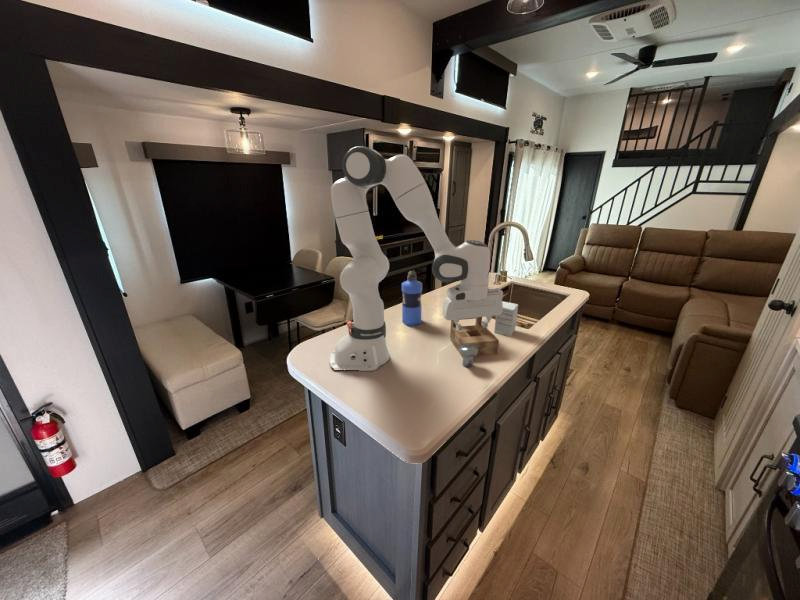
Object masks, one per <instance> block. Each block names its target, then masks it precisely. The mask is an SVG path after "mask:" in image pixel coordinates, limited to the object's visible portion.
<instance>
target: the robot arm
mask: <svg viewBox="0 0 800 600" xmlns="http://www.w3.org/2000/svg"><path fill="white" fill-rule="evenodd" d="M342 172H343V173H344V177H343V178H340V179H338V180H335V182H334V183H333V184H332V185H331V188H330V194H331V195H330V196H331V204H332V210H333V215H334V219H335V222H336V225H337V230H338V234H339V237H340V241H341V243H342V244H343V245H345V246H346V248H348V250H349V251H348V252H350V254H351V256H352V259H353V260H352V261H350V262H349V263H347V265H345V267H344V268H343V270H342V271H341V273H340V275H339V283H340V286H341V288H342V289H343V290H344V291H345V292H346V293H347V294H348V297H349V299H350V302H351V307H352V317H353V319H352V320H353V321H351V320H349V321H347V323H346V325H347V326H346V327H347V329H348V330H347V331H348V332H347V333H346V334H345V335H344V336H342V338H339V340H337V342H336V345H335V347H334V350H333V351H331V353H330V355H329V362H330V364H329V366H330V365H331V367H332V368H333V369H340V370H341V369H342V370H344V369H345V370H359V371H358V372H361V371H362V372H372V371H376V370H377V369H378V368H379V367H380V366H382V365H384V364H385V363H387V362H388V361H389V359H390V357H391V355H390V352H389V349H388V346H387V341H386V339H387V338H386V337H387V325H386V320H385V305H384V301H383V299H381V296H380V292H379V283H380V282H382V280H384V279H385V277H386V276H387V274H388V272H389V270H390V262H389V259H388V257H387V256H386V255H385V254H384V252H383V251H382V249H381V247H380V244H379V242H378V240H377V237H376V235H375V231H374V228H373V224H372V223H373V222H372V219H371V215H370V211H369V205H368V203H367V202H368V201H367V193H368V192H371V191H372V190H373V189H375V188H377V187H379V186H380V185H382V186H384V187H385V188H386V189H387V191H388V192H389V194H390V196H391V199H392V200H393V201H394V203H395V206H396V207H397V208H398V210H399V212H400V213H401V214H402V216H403V217H404V218H405V219H406V220H407V221H409V222H412V223H413V224H415V225H416V226H418V227H419V228H420V229H421V230H422V231H423V233H424V234H425V236H426V238H427V240H428V242H429V243H430V245H431V247H432V249H433V252H434V257H435V258H434V260H433V263H432V266H431V271H432V274H433V276H434V278H436V279H437V280H439V281H440V282H442V283H454V282H460V283H458V284H456V285H454V286H451V287H448V288H447V289H446V290H445V293H446V297H445V298H444V301H443V306H442V316H443V318H444V319H445V320H447V321H451V320H453V321H454V322H455V324H456V330H457V331H460V330H462V326H463V325H462V324H461V323H459V322H460V320H459V319H464V320H468V319H467V318H475V319H476V317H482V318H483V317H485V319H484V321H483V320H482V327H483V328H489V323H490V322H491V320H492V317H494V316H495V317H496V315H500V314H501V313H502V312H503V303H502V301H503V298H504V292H503V290H502V289H500V288H499V287H498V288H497V287H495V288H489V277H488V276H489V275H488V274H489V272H490V268H491V267H490V266H491V252H490V248H489V246H488V245H487V244H486V243H485V242H483V241H480V240H474V239H472V240H471V239H469V240H465V241H464V242H463V243H462V244H459V245H456V244H454V243H453V242H452V241H451V240H450V238H449V236H448V234H447V232H446V230H445V229H444V227H443V225H442V222H441V221H440V219H439V217H438V213H437V210H436V207H435V204H434V201H433V197H432V194H431V192H430V189H429V187H428V184H427V182H426V180H425V178H424V177H423V175H422V173H421V171H420V170H419V168H418V166H416V164H415V163H414V161H413V160H412V158H410V156H408V155H407V154H396V155H394V156H392V157H390V158H385V157H384V156H383V155H382V153H380V152H379V151H377V150H375V149H373V148H370V147H367V146H363V145H361V146H359V145H358V146H354V147H352V148H350V149H349V150H348V151H346V153H345V155H344V157H343V159H342ZM333 353H335V354H333ZM329 362H328V363H329ZM333 364H334V365H333ZM331 367H330V368H331ZM332 368H331V369H332ZM333 369H332V370H333Z"/></svg>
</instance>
